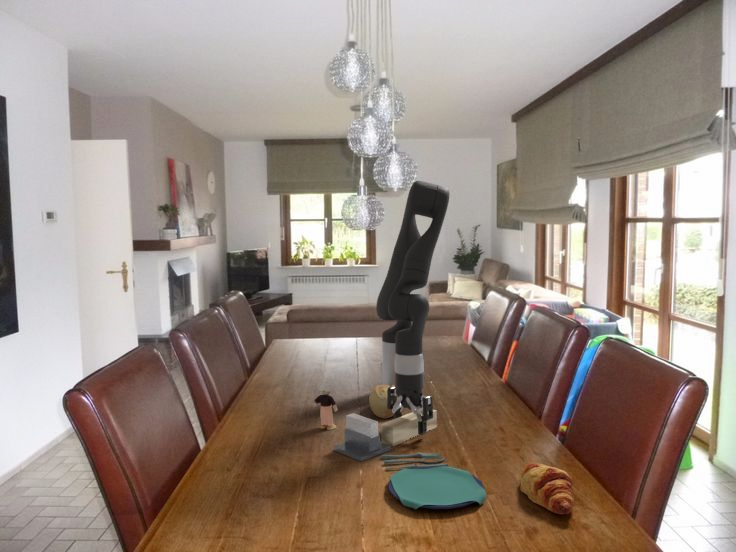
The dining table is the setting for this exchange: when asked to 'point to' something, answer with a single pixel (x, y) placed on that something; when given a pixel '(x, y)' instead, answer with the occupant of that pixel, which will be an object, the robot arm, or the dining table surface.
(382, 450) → the ridge stand
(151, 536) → the dining table surface
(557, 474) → the croissant
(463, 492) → the cutlery set
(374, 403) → the bread roll
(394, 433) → the birch bar
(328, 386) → the grandmother figurine
